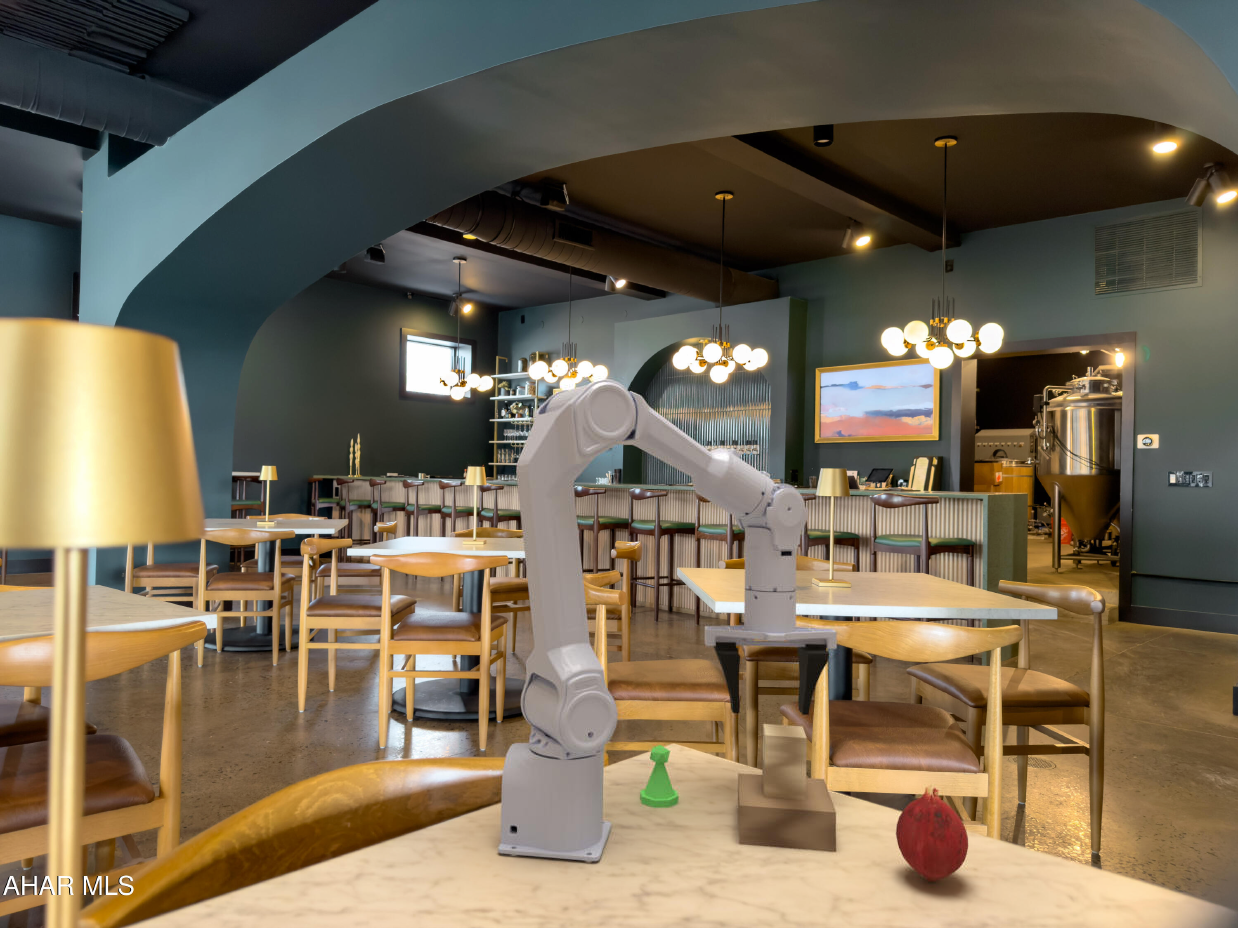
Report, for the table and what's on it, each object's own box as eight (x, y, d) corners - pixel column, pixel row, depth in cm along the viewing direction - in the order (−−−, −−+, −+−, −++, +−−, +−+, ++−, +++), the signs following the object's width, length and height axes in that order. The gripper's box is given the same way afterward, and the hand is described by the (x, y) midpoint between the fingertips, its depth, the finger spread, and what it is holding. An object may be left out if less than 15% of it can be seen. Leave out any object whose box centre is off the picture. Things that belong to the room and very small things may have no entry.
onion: (976, 902, 63) (975, 803, 63) (902, 894, 64) (902, 796, 64) (959, 869, 68) (958, 778, 69) (891, 862, 69) (891, 773, 70)
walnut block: (739, 847, 73) (739, 805, 73) (737, 811, 82) (738, 773, 82) (835, 855, 71) (835, 812, 72) (823, 817, 80) (823, 778, 81)
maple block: (764, 796, 75) (765, 735, 75) (762, 782, 79) (763, 723, 79) (805, 799, 75) (806, 737, 75) (801, 785, 79) (802, 726, 79)
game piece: (634, 804, 82) (635, 748, 82) (645, 790, 86) (646, 736, 86) (673, 810, 81) (674, 752, 81) (682, 795, 85) (683, 741, 85)
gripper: (709, 592, 82) (708, 719, 81) (844, 594, 82) (844, 723, 81) (703, 585, 89) (702, 702, 88) (827, 587, 89) (827, 705, 88)
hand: (769, 711), depth 85 cm, fingers open, 7 cm apart
